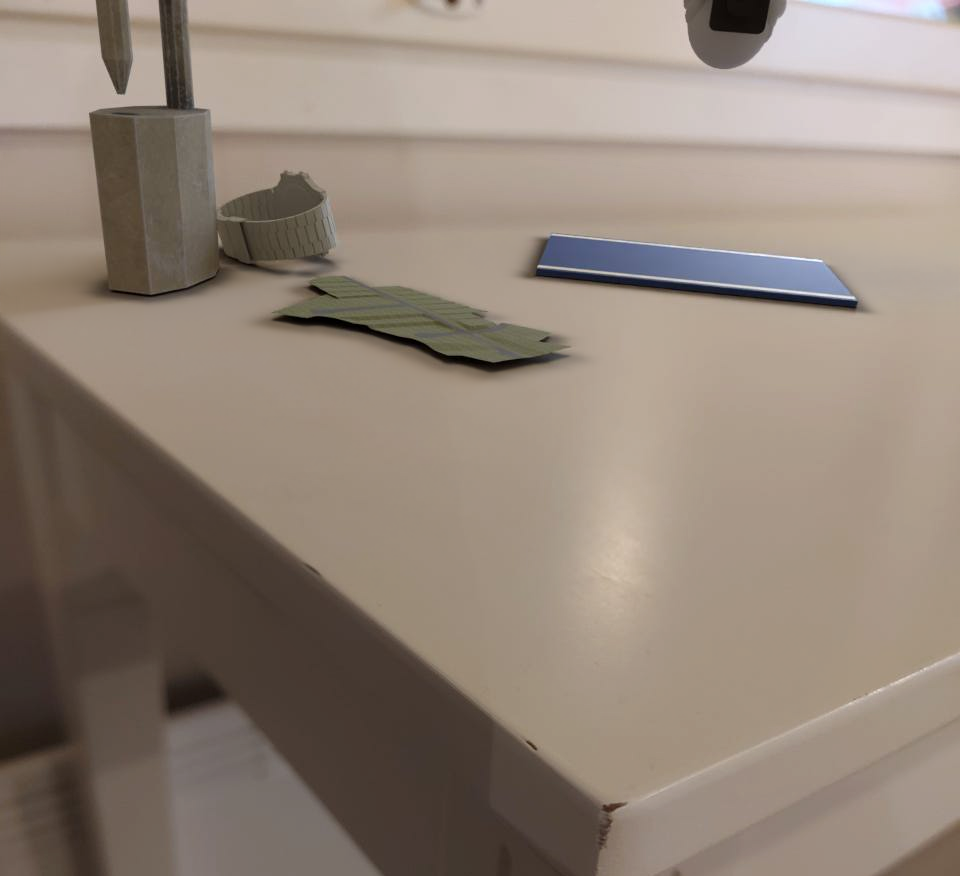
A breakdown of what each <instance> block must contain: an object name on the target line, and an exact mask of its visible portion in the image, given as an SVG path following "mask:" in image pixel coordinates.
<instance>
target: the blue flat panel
mask: <svg viewBox="0 0 960 876" xmlns="http://www.w3.org/2000/svg"><path fill="white" fill-rule="evenodd" d="M535 275H536V276H541V277H550V278H551V277H553V278H562V279H571V280H572V279H573V280H580V281H581V280H582V281H593V282H601V283H611V284H621V285H631V286H642V287H651V288H660V289H661V288H662V289H671V290H681V291H689V292H690V291H691V292H700V293H711V294H718V295H719V294H721V295H729V296H740V297H747V298H748V297H749V298H757V299H758V298H759V299H769V300H778V301H779V300H780V301H788V302H789V301H790V302H798V303H807V304H819V305H828V306H837V307H838V306H839V307H847V308H857V307H858V303H859V300H858V299H857V298H856V297H855V296H854V294H852V292H851V291H850V290H849V289H848V288H847V287H846V286H845V284H844V283H842V281H841V280H840V279H839V278H838V277H837V276H836V274H835V273H834V272H833V271H832V270H831V269H830V267H829V266H828V265H827V264H826V263H825V261H823V259H822V258H813V257H803V256H802V257H801V256H791V255H782V254H771V253H761V252H750V251H742V250H731V249H721V248H712V247H711V248H710V247H700V246H692V245H691V246H689V245H681V244H669V243H659V242H651V241H650V242H649V241H639V240H629V239H620V238H609V237H608V238H607V237H601V236H600V237H599V236H591V235H589V236H588V235H578V234H569V233H557V232H550V235H549V237H548V240H547V242H546V245H545V248H544V251H543V252H542V254H541V257H540V260H539V262H538V264H537V267H536V269H535Z"/></svg>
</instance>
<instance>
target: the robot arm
mask: <svg viewBox="0 0 960 876" xmlns="http://www.w3.org/2000/svg"><path fill="white" fill-rule="evenodd" d="M769 5H770V0H713V1H712V7H711V13H710V20H709V27H710V29H711V30H713V31H720V32H733V33H745V34H761V33H762V32H763V31H764V29H765V26H766V21H767V15H768V10H769Z"/></svg>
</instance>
